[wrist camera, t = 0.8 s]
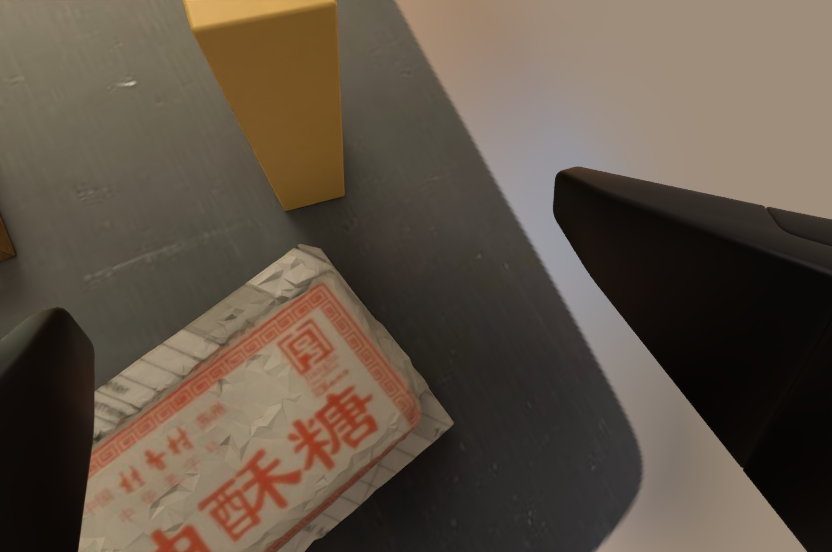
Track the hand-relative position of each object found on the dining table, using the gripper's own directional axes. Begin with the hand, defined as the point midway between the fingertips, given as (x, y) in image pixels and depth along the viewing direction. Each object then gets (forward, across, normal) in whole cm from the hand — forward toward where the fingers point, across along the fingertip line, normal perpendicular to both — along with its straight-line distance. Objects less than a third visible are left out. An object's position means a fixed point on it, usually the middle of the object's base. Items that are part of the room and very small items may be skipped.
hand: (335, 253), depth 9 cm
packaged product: (+6, +7, +13) cm, 16 cm away
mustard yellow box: (+14, 0, +4) cm, 15 cm away
